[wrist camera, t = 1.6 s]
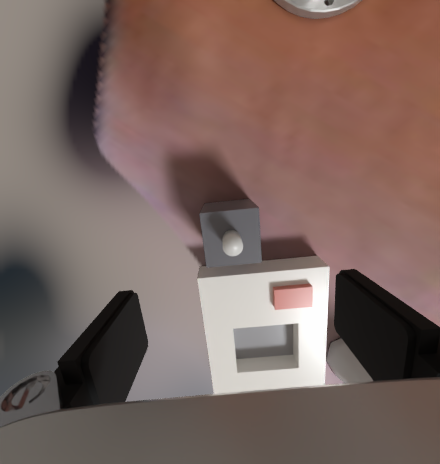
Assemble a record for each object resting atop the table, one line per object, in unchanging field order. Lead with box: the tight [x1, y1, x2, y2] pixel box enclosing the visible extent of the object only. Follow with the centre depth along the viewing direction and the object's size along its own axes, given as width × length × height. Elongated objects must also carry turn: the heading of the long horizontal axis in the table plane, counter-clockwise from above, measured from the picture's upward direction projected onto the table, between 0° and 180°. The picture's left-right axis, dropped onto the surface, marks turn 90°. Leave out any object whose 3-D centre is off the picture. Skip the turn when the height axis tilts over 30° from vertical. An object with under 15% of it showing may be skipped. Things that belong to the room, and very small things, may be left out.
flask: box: [326, 338, 373, 383], centre depth 25 cm, size 7×7×10 cm
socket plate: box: [197, 256, 329, 394], centre depth 26 cm, size 18×14×4 cm
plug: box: [199, 199, 262, 268], centre depth 21 cm, size 5×5×8 cm
